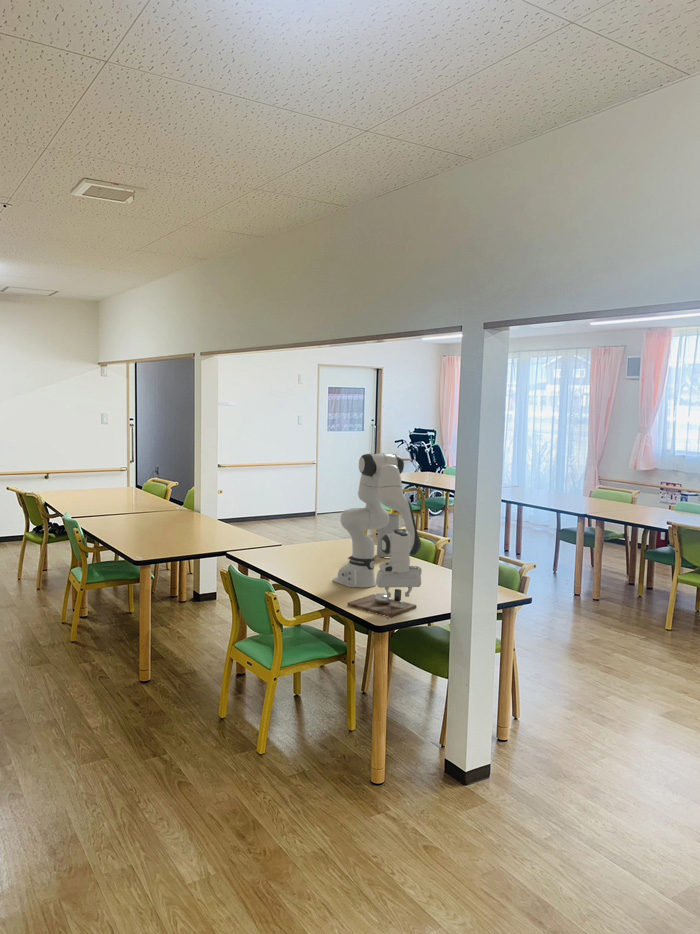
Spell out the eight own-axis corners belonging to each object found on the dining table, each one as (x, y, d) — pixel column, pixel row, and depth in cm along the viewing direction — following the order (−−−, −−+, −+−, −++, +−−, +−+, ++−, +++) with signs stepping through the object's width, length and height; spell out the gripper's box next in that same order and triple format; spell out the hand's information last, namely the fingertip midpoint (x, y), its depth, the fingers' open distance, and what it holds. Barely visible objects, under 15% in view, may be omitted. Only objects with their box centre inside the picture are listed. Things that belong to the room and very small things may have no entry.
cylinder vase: (373, 554, 419) (375, 513, 417) (391, 553, 424) (393, 513, 422) (382, 559, 408) (384, 517, 405) (401, 558, 413) (403, 516, 411)
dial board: (347, 605, 311) (347, 602, 310) (373, 597, 326) (373, 593, 326) (391, 617, 296) (391, 614, 296) (416, 608, 312) (416, 604, 312)
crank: (372, 601, 313) (372, 586, 312) (381, 598, 318) (382, 583, 317) (397, 608, 304) (398, 592, 303) (406, 605, 309) (407, 589, 309)
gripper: (419, 564, 312) (418, 594, 313) (375, 564, 308) (374, 595, 309) (424, 567, 306) (422, 598, 307) (379, 568, 301) (378, 599, 303)
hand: (397, 596), depth 308 cm, fingers open, 7 cm apart
